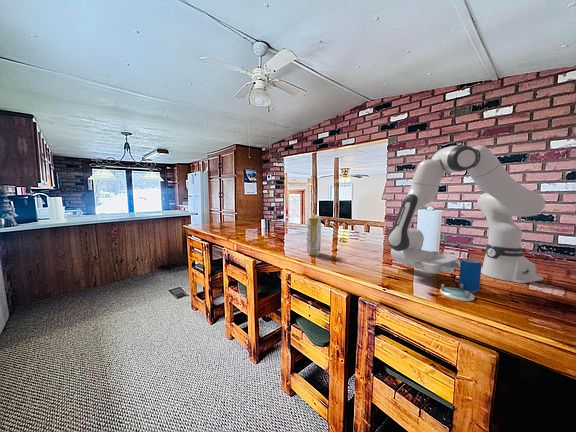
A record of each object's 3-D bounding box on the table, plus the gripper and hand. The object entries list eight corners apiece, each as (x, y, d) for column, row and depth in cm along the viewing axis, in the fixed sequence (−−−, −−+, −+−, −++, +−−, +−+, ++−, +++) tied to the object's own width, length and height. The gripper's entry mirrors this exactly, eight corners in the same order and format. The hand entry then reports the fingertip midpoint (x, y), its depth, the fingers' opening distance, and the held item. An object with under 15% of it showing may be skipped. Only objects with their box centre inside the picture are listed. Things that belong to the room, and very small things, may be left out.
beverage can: (469, 286, 96) (472, 257, 95) (483, 293, 90) (486, 262, 89) (454, 286, 96) (456, 257, 95) (466, 293, 89) (469, 262, 88)
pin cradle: (458, 288, 94) (458, 280, 94) (482, 300, 84) (482, 291, 83) (433, 289, 93) (434, 281, 92) (455, 301, 82) (455, 293, 82)
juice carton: (320, 256, 140) (320, 216, 138) (306, 255, 141) (307, 215, 139) (320, 252, 149) (321, 214, 147) (307, 251, 150) (308, 214, 148)
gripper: (412, 256, 101) (447, 265, 89) (438, 251, 112) (472, 257, 100) (411, 271, 102) (446, 281, 90) (437, 264, 112) (471, 272, 100)
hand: (460, 269), depth 95 cm, fingers open, 8 cm apart
